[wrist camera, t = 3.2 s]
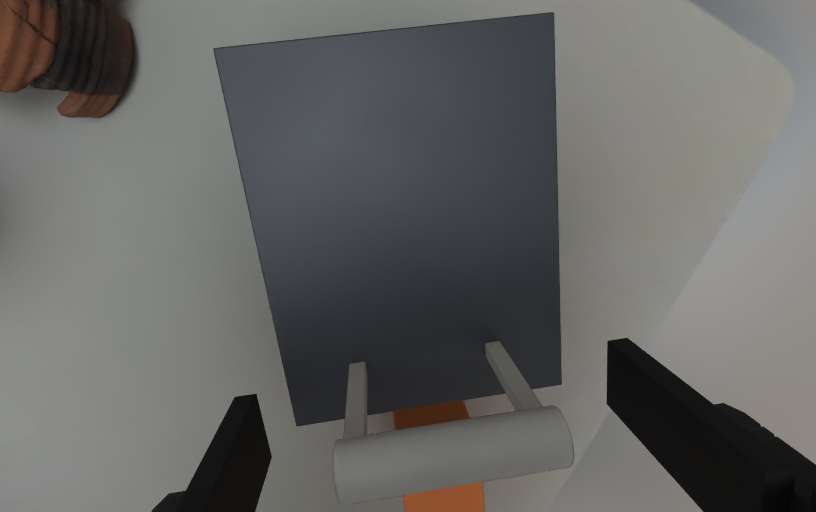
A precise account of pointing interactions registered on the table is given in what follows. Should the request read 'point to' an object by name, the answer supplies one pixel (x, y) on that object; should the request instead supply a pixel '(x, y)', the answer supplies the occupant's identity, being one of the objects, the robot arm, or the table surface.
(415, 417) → the orange block
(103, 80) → the pottery mug
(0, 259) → the table surface
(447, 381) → the hinged box lid
